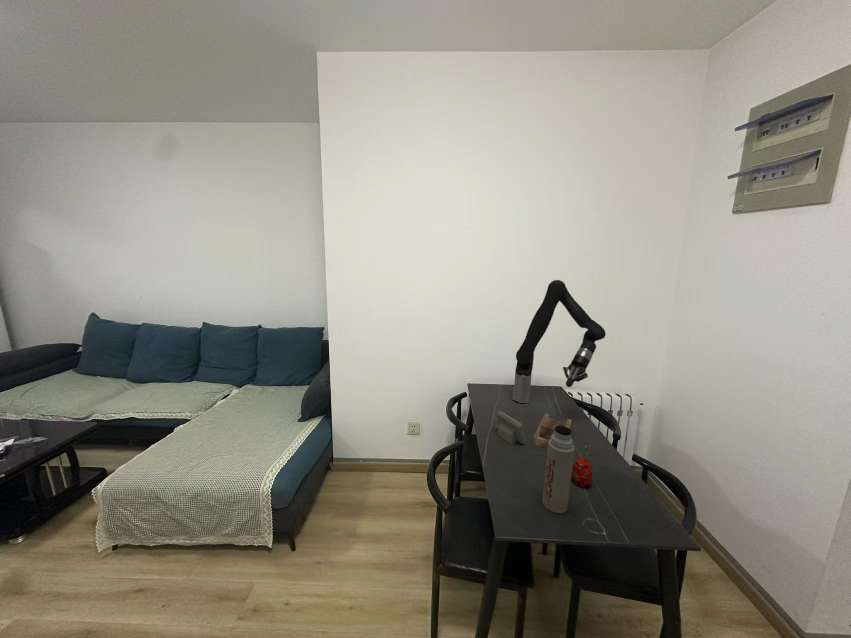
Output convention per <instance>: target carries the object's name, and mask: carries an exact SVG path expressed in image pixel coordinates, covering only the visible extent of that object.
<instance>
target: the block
mask: <svg viewBox="0 0 851 638" xmlns="http://www.w3.org/2000/svg"><path fill="white" fill-rule="evenodd" d="M561 422H562V421H561V420H558V419H554V418H551V417H550V416H549V417H548V418H547V419H546V420H545V421H544V422H543V423H542V424H541V425H540V424H539V425H540V435H539V437H542V438H545V439H549V440H550V439H551V436H552V435H553V434H554V433H555V427H556V426H561Z"/></svg>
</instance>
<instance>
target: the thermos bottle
mask: <svg viewBox="0 0 851 638" xmlns="http://www.w3.org/2000/svg"><path fill="white" fill-rule="evenodd" d="M571 434H572V430H571V428H570V429H569V428H567V427H565V425H560V426H556V427H555V433H554V434H553V435H552V436H551V439H550V440H549V442H548V449H547V451H546V452H547V453H546V454H547V455H546V464H545V474H544V481H543V492H542V504H543V506H544V507H545V508H546V509H547V510H549V511H551V512H553V513H557V514H563V513H565V512H567V510H568V506H569V497H570V488H571V487H570V486H571V481H572V480H571V473H572V466H573V464H574V463H573V462H574V456H575V455H574V454H575V445H574V441H573V438H572V437H571Z"/></svg>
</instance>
